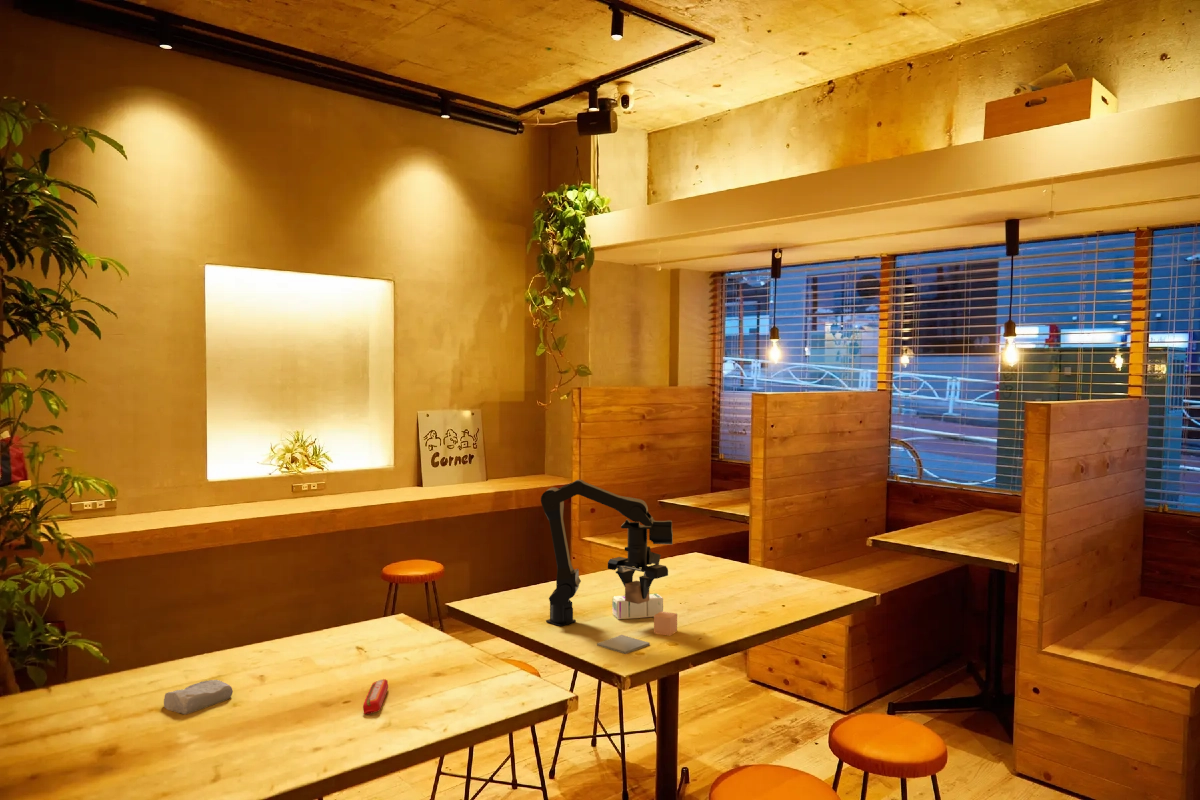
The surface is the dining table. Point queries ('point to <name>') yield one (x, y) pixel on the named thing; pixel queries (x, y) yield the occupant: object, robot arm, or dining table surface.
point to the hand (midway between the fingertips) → (637, 596)
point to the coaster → (623, 644)
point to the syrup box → (637, 607)
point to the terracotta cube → (665, 623)
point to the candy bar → (375, 696)
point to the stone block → (197, 696)
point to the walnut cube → (634, 593)
